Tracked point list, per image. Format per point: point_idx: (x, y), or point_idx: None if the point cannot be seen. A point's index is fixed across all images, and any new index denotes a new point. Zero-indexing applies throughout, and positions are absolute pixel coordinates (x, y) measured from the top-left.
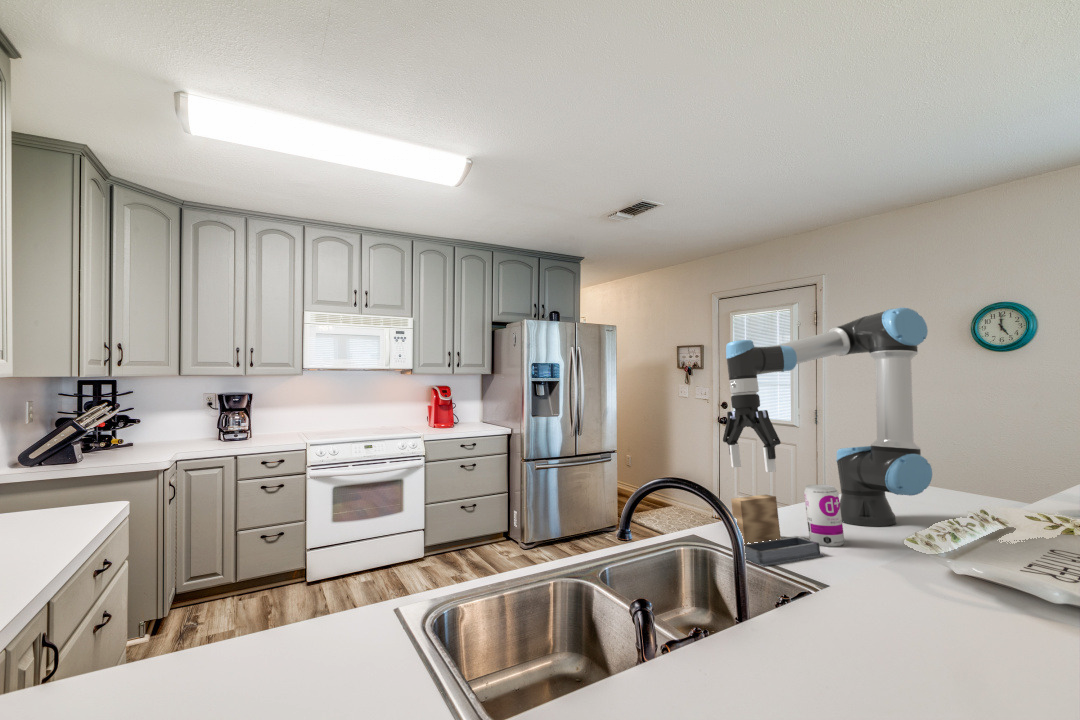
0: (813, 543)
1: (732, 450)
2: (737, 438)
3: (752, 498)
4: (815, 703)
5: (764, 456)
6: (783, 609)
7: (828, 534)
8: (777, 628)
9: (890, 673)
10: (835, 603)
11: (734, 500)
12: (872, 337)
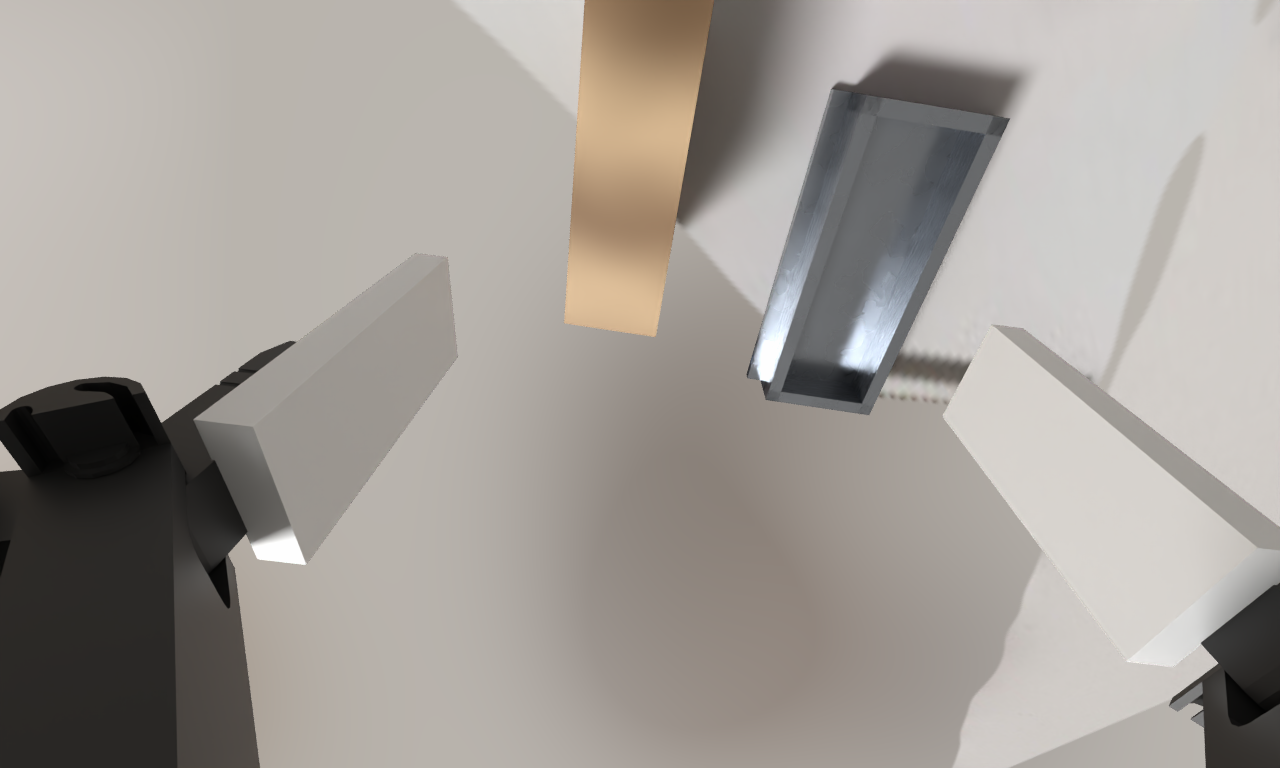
0: (988, 148)
1: (355, 480)
2: (186, 586)
3: (646, 219)
4: (1175, 688)
5: (1041, 538)
6: None
7: None
8: (1065, 605)
9: None
10: None
11: (597, 324)
12: None
